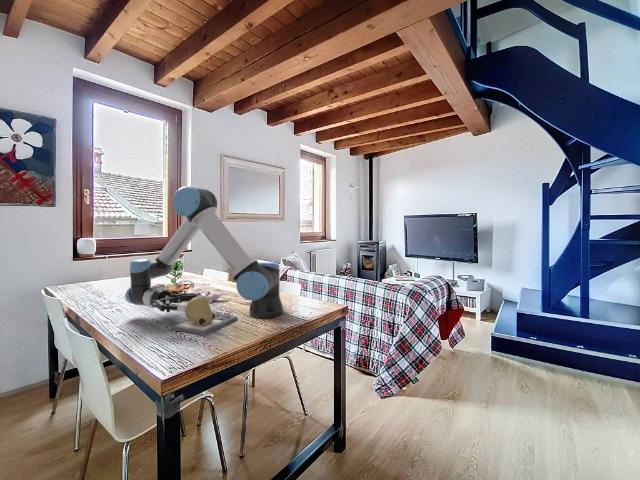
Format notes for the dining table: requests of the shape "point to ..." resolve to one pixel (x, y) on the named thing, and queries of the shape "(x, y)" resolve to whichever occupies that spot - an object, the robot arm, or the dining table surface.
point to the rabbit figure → (215, 295)
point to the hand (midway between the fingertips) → (198, 303)
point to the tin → (159, 286)
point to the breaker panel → (205, 329)
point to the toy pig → (199, 311)
